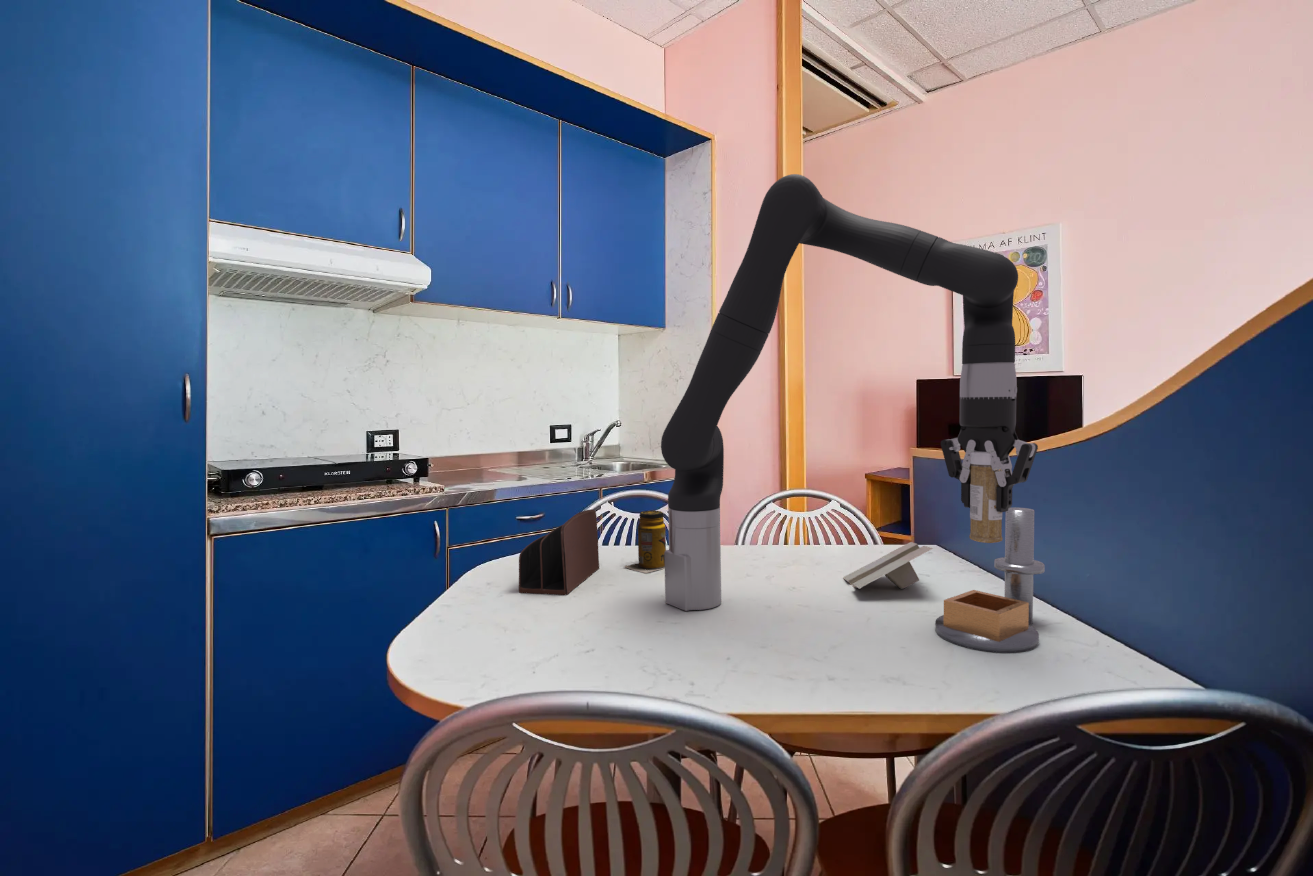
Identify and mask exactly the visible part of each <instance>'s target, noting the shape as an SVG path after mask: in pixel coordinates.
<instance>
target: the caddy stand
mask: <svg viewBox="0 0 1313 876" xmlns="http://www.w3.org/2000/svg"><path fill="white" fill-rule="evenodd" d="M1004 522H1005V527H1004V528H1005V530H1004V531H1005V532H1004V534H1005V537H1004V538H1005V539H1004V540H1005V541H1004V542H1005V544H1004V557H1003V556H1002V557H998V558H995V559H994V562H993V564H994V568H995V569H996V570H997V571H1001V572H1004V596H1002V595H997V594H993V593H988V592H984V591H980V590H975V589H972V590H969V591H966V592H963V593H960V594H957V595H954V596H951V597H948V598H947V599H946V598H945V599H943V615H940V616H938V617H937V618H936V619H935V624H934V626H935V627H934V628H935V633H936V635H937V636H939V637H940V638H941V639H943V640H945V641H947V642H948V643H951V644H953V645H956V646H959V647H962V648H966V649H971V650H974V651H975V650H976V651H979V652H980V651H981V652H987V653H988V652H989V653H996V654H997V653H999V654H1001V653H1002V654H1010V653H1013V654H1014V653H1015V654H1016V653H1023V652H1028V651H1031V650H1034V649H1036V648H1037V647H1038V646H1039V644H1040V634H1039V631H1038V630H1037V629H1036V628H1035V627H1034V626H1032V625H1033V623H1034V622H1033V619H1034V618H1033V617H1034V575H1040V574H1043V573H1045V569H1046V568H1045V563H1044V562H1042V561H1039V560H1036V559H1035V558H1034V557H1035V555H1034V554H1035V553H1034V551H1035V510H1034V509H1032V508H1027V507H1011V508H1009V509H1008V511H1006V512H1005V521H1004Z"/></svg>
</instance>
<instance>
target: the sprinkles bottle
mask: <svg viewBox="0 0 1313 876" xmlns="http://www.w3.org/2000/svg"><path fill="white" fill-rule="evenodd" d="M993 457H994V456H993ZM1000 462H1001V464H1004V461H1000ZM971 464H972V465H971V484H970V508H969V518H970V526H969V527H970V533H969V539H970V540H971V541H975V542H977V543H985V544H993V543H994V544H995V543H1000V542H1003V536H1002V535H1003V534H1002V532H1003V531H1002V528H1003V527H1002V526H1003V525H1002V523H1003V522H1002V520H1003V512H997V510H996V494H997V487H999V484H998V481H997V478H996V474H995V472H994V471H993V470H992V467H991V458H990V454H989V453H987V452H979V451H976V452H972V453H971Z"/></svg>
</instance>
